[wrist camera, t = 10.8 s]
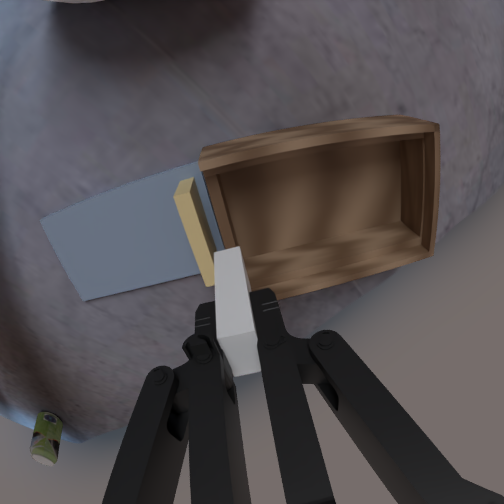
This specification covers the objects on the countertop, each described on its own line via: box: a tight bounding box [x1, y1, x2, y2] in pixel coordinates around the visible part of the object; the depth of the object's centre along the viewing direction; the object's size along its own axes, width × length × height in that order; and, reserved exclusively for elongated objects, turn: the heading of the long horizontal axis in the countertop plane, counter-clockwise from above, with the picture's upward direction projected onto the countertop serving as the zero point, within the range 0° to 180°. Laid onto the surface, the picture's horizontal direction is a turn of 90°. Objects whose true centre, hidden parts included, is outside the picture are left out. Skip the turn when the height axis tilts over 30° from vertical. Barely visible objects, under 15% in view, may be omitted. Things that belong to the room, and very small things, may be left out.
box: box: [198, 115, 440, 300], centre depth 23 cm, size 18×12×6 cm, turn 102°
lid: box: [40, 161, 226, 301], centre depth 24 cm, size 17×10×5 cm, turn 103°
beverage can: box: [30, 412, 63, 466], centre depth 37 cm, size 6×7×12 cm
